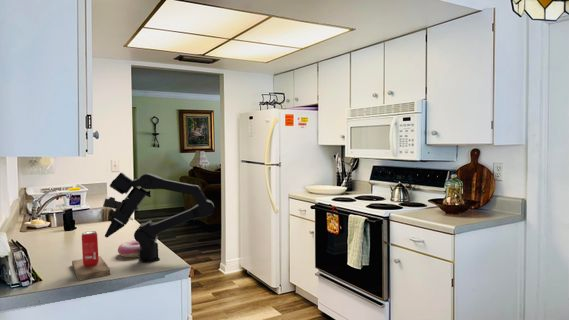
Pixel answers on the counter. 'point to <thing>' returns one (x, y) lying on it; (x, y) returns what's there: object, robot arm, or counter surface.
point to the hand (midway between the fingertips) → (106, 236)
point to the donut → (129, 249)
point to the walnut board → (90, 269)
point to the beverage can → (90, 248)
